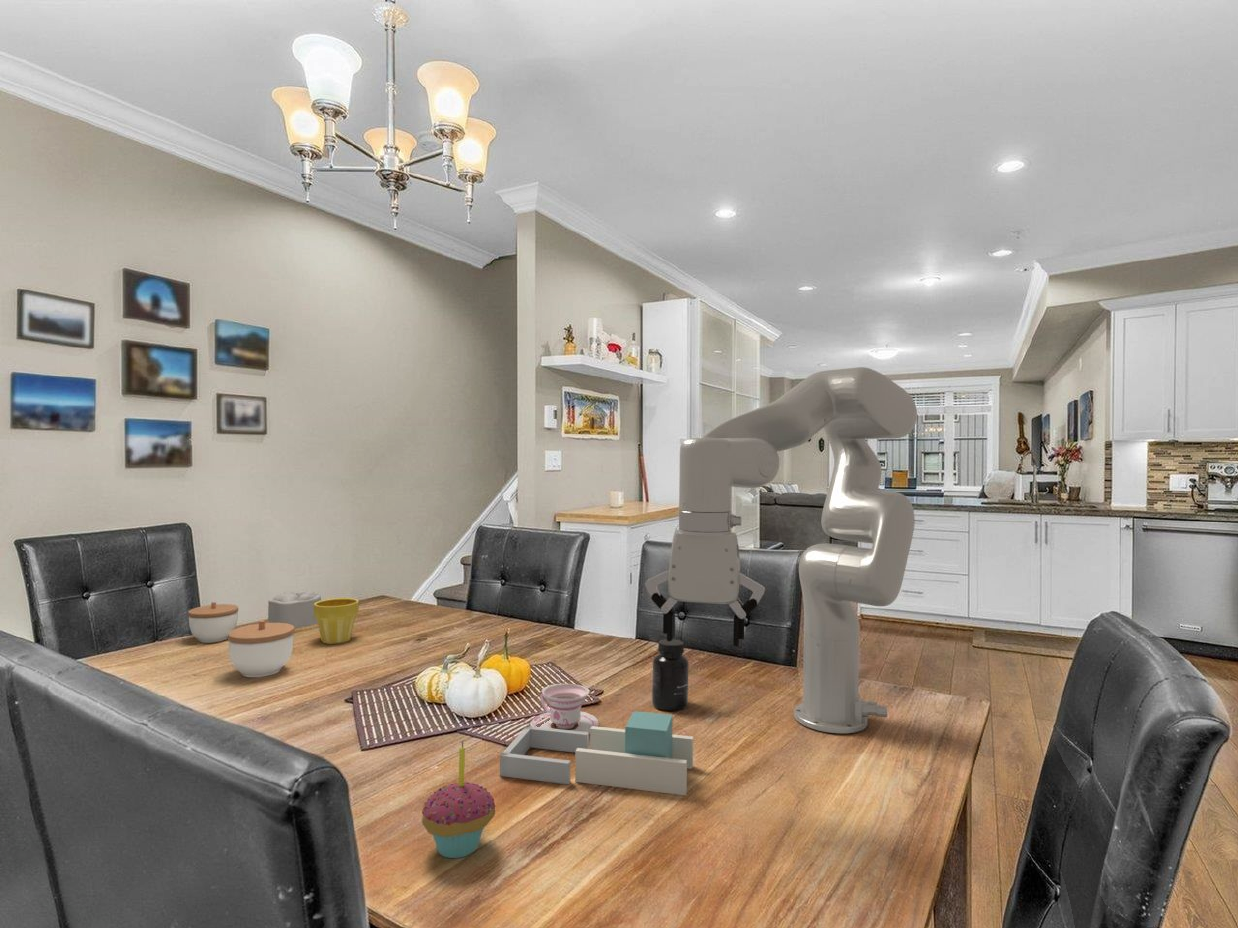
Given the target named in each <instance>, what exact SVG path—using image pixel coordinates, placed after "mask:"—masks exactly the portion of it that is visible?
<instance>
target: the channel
mask: <svg viewBox="0 0 1238 928" xmlns="http://www.w3.org/2000/svg"><path fill="white" fill-rule="evenodd" d="M574 753H575V756H574V757H575V759H574V760H575V761H574V762H575V765H574V766H575V768H574V770H575V773H574V774H575V775H574V777H575V778H574V779H575V780H574V781H575V783H582V784H583V783H584V784H589V785H599V786H606V787H615V788H621V789H631V790H638V791H645V792H646V791H647V792H656V793H664V794H670V795H671V794H672V795H679V796H687V788H688V787H687V786H688V785H687V783H688V782H687V779H688V777H687V776H688V775H687V773H688V772H687V771H688V769H690V770H693V766H694V736H690V735H682V734H681V735H680V734H673V733H672V758H663V757H655V756H646V755H637V754H628V753H625V728H624V729H623V728H615V727H605V726H598V727H596V726H592V727H591V728H590V734H589V749H583V748H577V749H576V752H574Z"/></svg>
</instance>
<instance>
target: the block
mask: <svg viewBox="0 0 1238 928" xmlns="http://www.w3.org/2000/svg"><path fill="white" fill-rule="evenodd" d="M673 718H674V717H673V714H667V713H657V712H647V711H635V710H633V711H632V713H631V716H630V717H629V719H628V721H627V723H626V725H625V728H624V729H625V753H628V754H637V755H646V756H655V757H663V758H672V734H673V720H674V719H673Z"/></svg>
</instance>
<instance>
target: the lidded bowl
mask: <svg viewBox="0 0 1238 928" xmlns="http://www.w3.org/2000/svg"><path fill="white" fill-rule="evenodd" d="M295 630H296V629H294V626H293V625H291V624H287V623H268V622H266V620H264V619H263V620H258V623H256V624H254V623H253V624H247V625H244V626H240V627H237V628H235V629H234V630H232V631H230V632H229V633H228V638H227V640H228V654H229V655H228V656H229V658H230V662H231V663H232V665H233V667H234V668H235V669H236V670H237V671H238V672H239V673H241V674H242V676H243V677H245V678H251V679H252V678H263V677H264V678H265V677H269V676H272V675H276V674H277V673H279V672H280V671H281V669H282V668H283V667H284V666H285V665H286V664H287V662H288V661H289V660H290V658H291V655H292V653H293V649H294V643H295V642H294V640H295V635H294V633H295Z"/></svg>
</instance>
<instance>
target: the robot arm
mask: <svg viewBox="0 0 1238 928" xmlns="http://www.w3.org/2000/svg"><path fill="white" fill-rule="evenodd" d="M917 419H918V410H917V406H916V403H915V400H914V399H913V397H912V396H911V395H910V393H909V392H908V391H906V390H905V389H904V388H903V387H901V386H900V385H898V384H897V383H896V382H894V381H893V380H891V379H890V378H889V377H887V376H886V375H884V374H882V373H881V372H879V371H877V370H875V369H872V368H868V367H863V366H860V367H850V368H841V369H838V368H837V369H829V370H823V371H818V372H815V373H812V374H810V375H808V376H807V377H806V378H804V379H803V380H801V381H800V382H799V383H798V384H796V385H794V386H793V387H792V388H790V389H789V390H788V391H787V392H785V393H784V394H783V395H781V396H779V397H778V398H777V399H776V400H774V401H773V402H769V403H767V404H765V405H762V406H759V407H757V408H755V409H753V410H750V411H748V412H746V413H742V414H740V415H738V416H735V417H733V418H730V419H728V420H725V421H724V422H722V423H720V424H719V425H717V426H716V427H714V428H713V429H711V430H710V431H708V432H706V433H705V434H704V435H702V437H695V438H694V437H691V438H687V439H684V440H683V441H682V442H681V444H680V447H679V487H678V488H679V489H678V491H679V497H678V498H679V499H678V530H675V531H674V533H673V538H672V542H671V549H670V556H669V568H668V569H667V570H665V571H663V572H661V573H659V574H657V575H655V576H652V577H651V578H648V579H647V580H646V581H645V582H644V586H645V588H646V590H647V592H648V594H649V595H650V597H651V601H652V602H653V603H654V604H655V605H656V606H657V607H658V608H659V609H660V612H661V613H662V614H663V616H662V629H663V630H662V633H663V634H664V635H665V634H666V639H667V641H670V642H671V641H672V640H673V639H675V637H676V636H675V635H676V611H675V610H674V606H675V605H676V604H677V603H678V602H684V603H685V602H686V603H698V604H699V603H700V604H715V605H716V604H717V605H718V604H719V605H728V606H729V608H730V609H731V610H732V611H733V612H734V618H733V633H732V634H733V640H732V642H733V644H732V645H733V646H734V647H736V648H737V647H739V645H740V640H745V618H746V617H747V616H748V615H749V614H750V613H751V612H752V611H753V610H754V609H755V608H756V607H757V606H758V604H759V603H760V601H761V599H762V598H763V596H764V594H765V591H766V588H765V586H763V584H761V583H759V582H757V581H756V580H753V579H752V578H751V577H748V576H746V575H745V574H744V573H741V563H740V548H739V542H738V541H739V539H738V536H737V533H736V532H732V529H733V528H734V527H737V526H739V527H741V526H742V516H736V515H735V514H734V513H732V498H733V497H732V493H733V491H732V490H733V489H732V488H745V489H746V488H747V489H756V488H761V487H764V486H766V485H768V484H770V483H771V482H772V481H773V480H774V479H775V478H776V476H777V474H778V472H779V469H780V457H779V453H778V452H782V451H783V452H784V451H786V450H789V449H793V448H796V447H800V446H802V445H804V444H806V443H808V442H809V440H811V438H813V437H814V436H815V435H816V434H818V433H819V432H820V431H821V430H824V432H825V434H826V437H827V440H828V442H829V445H830V447H831V451H832V455H833V469H832V474H831V478H830V481H829V486H828V488H827V493H826V497H825V501H824V504H823V508H822V513H821V518H820V519H821V521H820V522H821V527H822V531H823V532H824V533H825V534H826V535H828V536H829V537H831V538H834V539H837V540H840V541H849V542H857V543H864V544H872V547H871V548H868V547H867V548H866V547H859V546H853V545H846V544H838V543H837V544H836V543H817V544H814V545H811V546H809V547H807V548H806V549H805V550H804V551H803V553H802V554H801V556H800V558H799V561H798V576H799V582H800V586H801V587H800V588H801V594H802V601H803V603H802V604H803V656H802V657H803V658H802V659H803V664H802V665H803V666H802V667H803V668H802V669H803V671H802V672H803V673H802V674H803V675H802V677H803V678H802V702H800V703H799V704H797V705H796V706H794V708H793V717H794V719H795V720H796V721H797V722H799V724H801V725H802V726H804V727H807V728H809V729H812V730H816V731H819V732H824V733H830V734H842V735H843V734H854V733H858V732H861V731H863V730H864V729H866V728H867V726H868V721H869V719H868V717H869V716H871V717H872V716H874V717H879V718H887V717H888V706H887V705H882V704H881V705H879V704H878V702H877V701H874V700H872V701H871V700H867V701H866V700H864V699H863V698H861V695H860V693H859V690H860V689H859V688H860V687H859V686H860V684H859V682H860V681H859V679H860V635H861V634H860V629H861V628H860V623H859V618H858V615H857V613H856V610H855V609H854V607H853V605H852V603H857V604H861V605H862V604H863V605H868V606H873V607H887V606H889V605H891V604H892V603H894V602H895V601H896V599H897V598H898V596H899V593H900V591H901V587H902V585H903V580H904V578H905V572H906V569H907V568H906V567H907V563H908V559H909V555H910V554H909V553H910V551H911V545H912V541H913V537H914V530H915V521H916V520H915V512H914V507H913V504H912V502H911V500H910V499H909V498H908V497H907V496H906V495H904V494H903V493H901V492H898V491H894V490H893V491H892V490H881V489H879V487H880V482H881V477H882V471H883V470H882V464H881V463H880V460H879V458H878V456H877V455H876V453H875V452H874V450H873V449H872V448H871V446H870V445H869V443H868V442H867V440H873V439H874V440H875V439H881V440H882V439H884V440H885V439H887V440H888V439H891V440H892V439H901V438H904V437H906V436H907V435H909V434H910V433H911V432H912V431H913V429H914V428H915V426H916V424H917ZM667 581H668V582H667ZM664 582H667V583H668V585H667V590H668V595H669V597H668V599H666V597H664V596H663V594H661V592H660V591H659V589H658V586H659V585H660V584H663V583H664ZM741 586H743V587H744V588H746V589H749V591H752V594H751V596H750V598H749V599H748V600H747V601H746V602H745V603H743V602H742V600H740V598H739V597H740V594H741Z"/></svg>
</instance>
